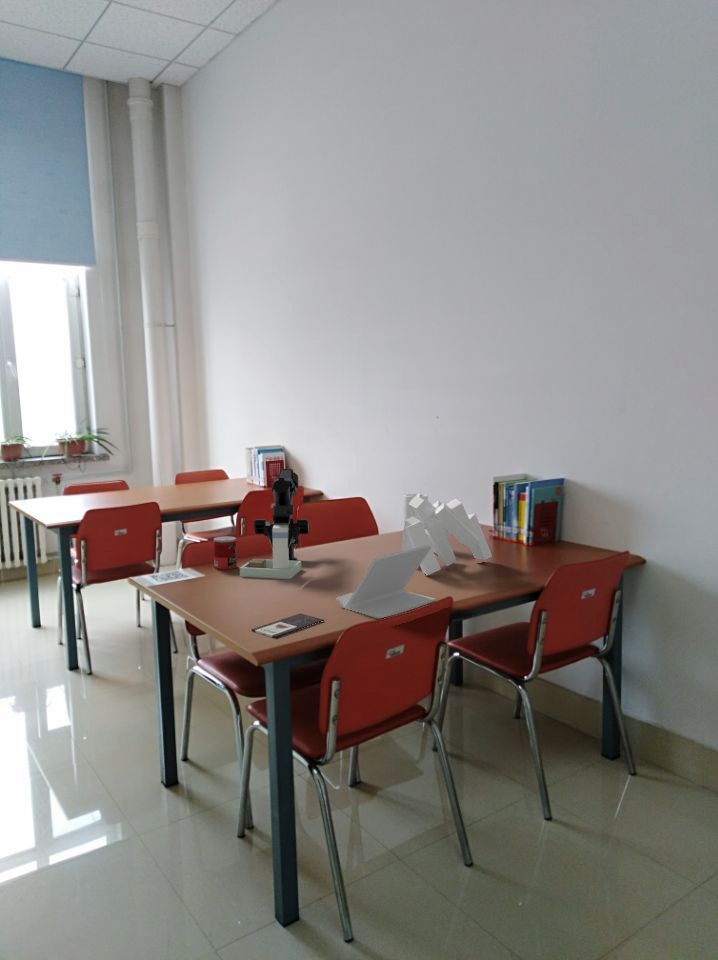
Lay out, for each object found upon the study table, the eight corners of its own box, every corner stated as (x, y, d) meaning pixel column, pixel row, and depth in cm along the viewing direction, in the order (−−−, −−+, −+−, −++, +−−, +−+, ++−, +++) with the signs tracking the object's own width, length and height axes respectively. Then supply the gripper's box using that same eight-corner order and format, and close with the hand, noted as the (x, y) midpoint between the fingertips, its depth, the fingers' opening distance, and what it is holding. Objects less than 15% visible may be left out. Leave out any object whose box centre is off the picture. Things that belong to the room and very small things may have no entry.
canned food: (232, 571, 249) (231, 540, 247) (210, 570, 250) (209, 539, 249) (240, 566, 256) (239, 536, 255) (219, 565, 258) (218, 535, 256)
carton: (274, 564, 247) (273, 525, 245) (288, 564, 247) (288, 525, 245) (272, 568, 242) (272, 528, 240) (287, 568, 242) (287, 528, 240)
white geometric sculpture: (449, 567, 278) (407, 488, 275) (512, 547, 259) (468, 463, 256) (405, 612, 252) (358, 526, 249) (472, 594, 233) (423, 500, 230)
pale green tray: (253, 568, 253) (253, 558, 253) (301, 570, 250) (301, 561, 249) (239, 577, 240) (239, 567, 240) (290, 580, 237) (289, 570, 236)
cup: (399, 545, 292) (399, 493, 290) (423, 544, 295) (424, 493, 292) (407, 551, 282) (407, 497, 280) (431, 549, 285) (432, 496, 282)
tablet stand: (436, 601, 214) (437, 545, 212) (381, 620, 195) (382, 559, 193) (390, 590, 226) (390, 537, 224) (334, 607, 208) (334, 549, 206)
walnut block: (253, 570, 249) (253, 558, 248) (265, 570, 248) (265, 559, 247) (248, 573, 244) (248, 562, 243) (261, 574, 243) (261, 562, 243)
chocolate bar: (323, 619, 193) (275, 636, 180) (324, 623, 193) (275, 640, 180) (300, 613, 199) (251, 629, 185) (300, 616, 199) (251, 632, 185)
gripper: (253, 496, 245) (250, 534, 235) (308, 496, 245) (307, 534, 236) (256, 515, 254) (253, 552, 244) (309, 514, 254) (308, 551, 245)
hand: (280, 547), depth 242 cm, fingers closed on carton, 5 cm apart
